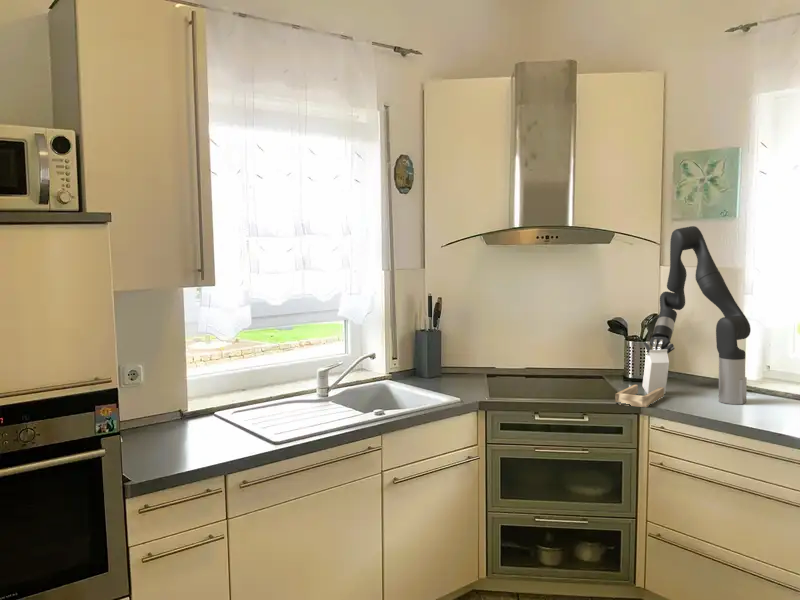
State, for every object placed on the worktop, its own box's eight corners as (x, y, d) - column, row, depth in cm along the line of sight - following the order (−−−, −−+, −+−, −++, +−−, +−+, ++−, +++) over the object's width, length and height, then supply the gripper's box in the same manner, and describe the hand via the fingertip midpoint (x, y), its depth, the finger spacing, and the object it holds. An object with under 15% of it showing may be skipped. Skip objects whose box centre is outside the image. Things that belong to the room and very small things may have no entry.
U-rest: (663, 397, 275) (663, 387, 274) (646, 407, 259) (646, 397, 259) (634, 394, 282) (634, 384, 282) (615, 403, 266) (615, 393, 266)
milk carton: (665, 394, 279) (670, 353, 272) (647, 395, 279) (652, 353, 272) (659, 386, 286) (664, 345, 278) (642, 386, 286) (646, 346, 279)
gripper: (645, 323, 293) (635, 355, 284) (677, 325, 284) (668, 358, 276) (650, 334, 297) (640, 366, 289) (681, 336, 289) (672, 369, 280)
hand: (653, 362), depth 282 cm, fingers closed
